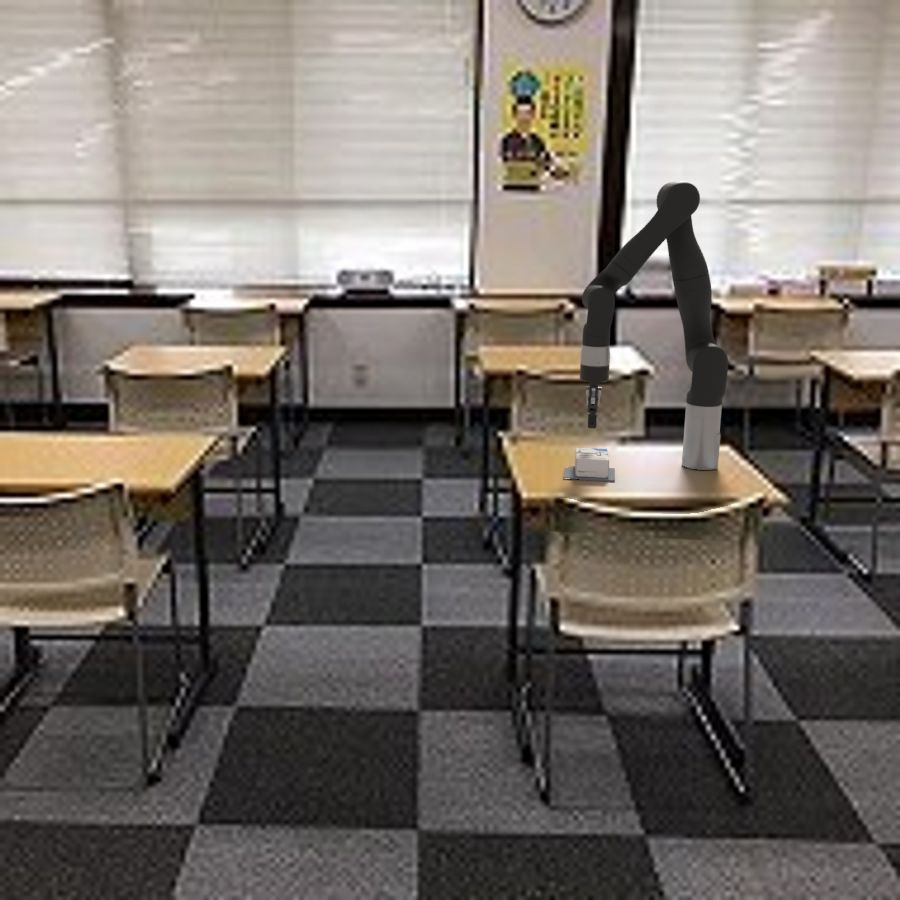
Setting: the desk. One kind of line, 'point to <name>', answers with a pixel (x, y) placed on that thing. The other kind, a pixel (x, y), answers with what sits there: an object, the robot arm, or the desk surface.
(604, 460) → the ink box
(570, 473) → the mat
